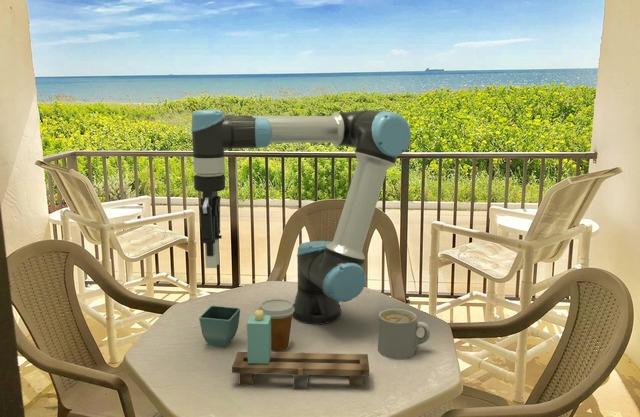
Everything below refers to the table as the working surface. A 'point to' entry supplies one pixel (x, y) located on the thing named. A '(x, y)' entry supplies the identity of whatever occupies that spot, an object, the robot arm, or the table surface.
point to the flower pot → (219, 325)
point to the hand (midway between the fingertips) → (212, 265)
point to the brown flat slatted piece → (304, 367)
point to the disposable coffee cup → (279, 322)
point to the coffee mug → (399, 333)
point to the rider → (259, 338)
